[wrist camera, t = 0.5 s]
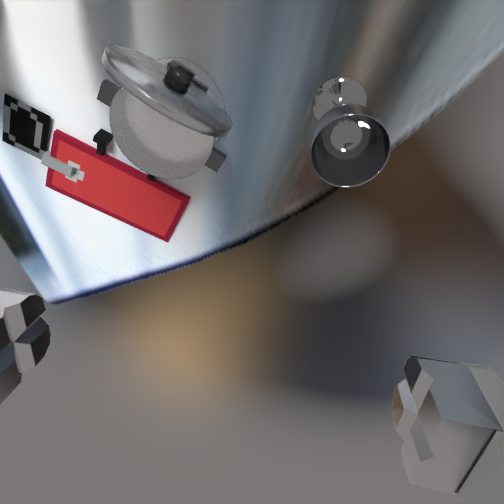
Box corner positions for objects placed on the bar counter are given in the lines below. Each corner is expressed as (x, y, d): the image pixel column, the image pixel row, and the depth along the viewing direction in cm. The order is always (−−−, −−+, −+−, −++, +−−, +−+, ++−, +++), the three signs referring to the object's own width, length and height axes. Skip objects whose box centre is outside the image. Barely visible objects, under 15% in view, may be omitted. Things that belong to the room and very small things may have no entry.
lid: (128, 51, 38) (139, 23, 37) (231, 119, 42) (245, 96, 41) (75, 60, 27) (88, 21, 26) (221, 152, 31) (239, 122, 30)
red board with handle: (9, 79, 51) (4, 160, 60) (-4, 85, 49) (-6, 168, 58) (199, 178, 58) (169, 237, 68) (195, 188, 56) (165, 247, 66)
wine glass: (336, 144, 51) (344, 200, 40) (297, 106, 49) (294, 154, 37) (382, 102, 47) (407, 152, 36) (342, 58, 44) (355, 96, 33)
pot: (143, 17, 44) (116, 29, 37) (257, 97, 48) (250, 120, 42) (110, 113, 52) (82, 136, 46) (210, 173, 57) (198, 202, 50)
